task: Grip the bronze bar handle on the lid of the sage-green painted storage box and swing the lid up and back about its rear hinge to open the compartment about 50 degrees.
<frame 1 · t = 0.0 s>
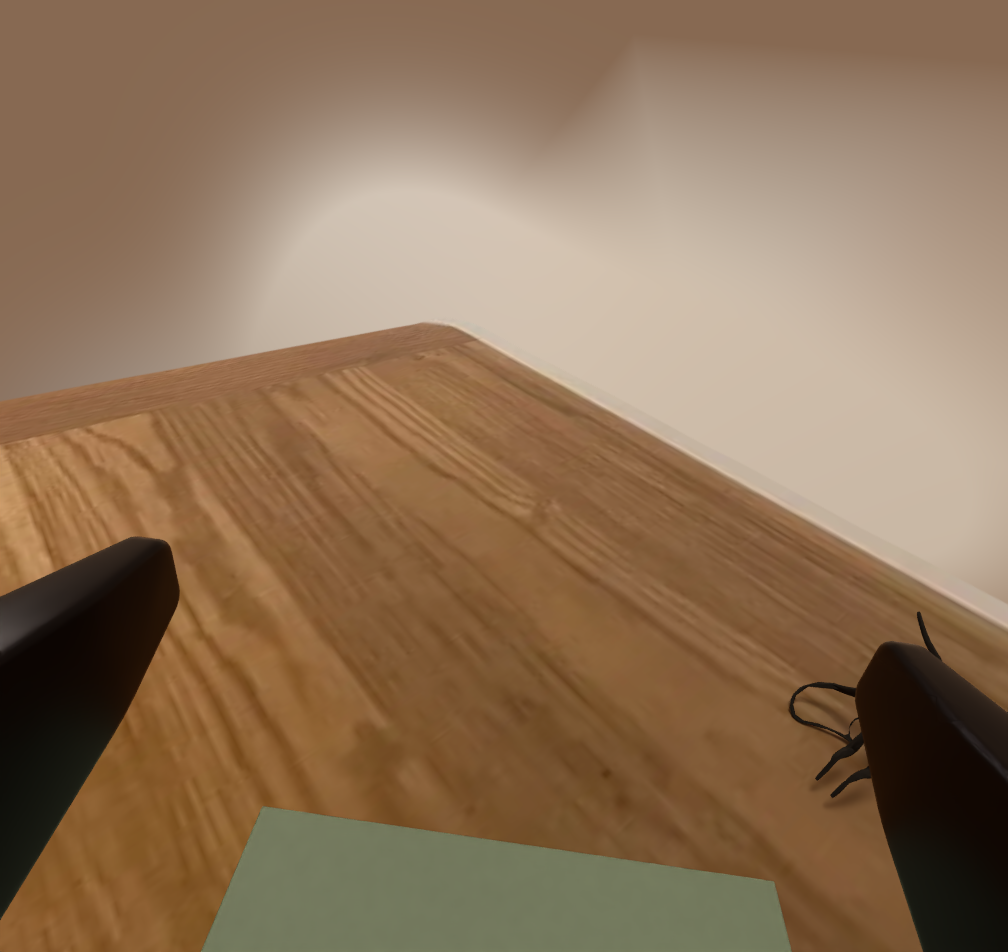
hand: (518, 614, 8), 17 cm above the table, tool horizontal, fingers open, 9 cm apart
creature: (880, 769, 27), on the table
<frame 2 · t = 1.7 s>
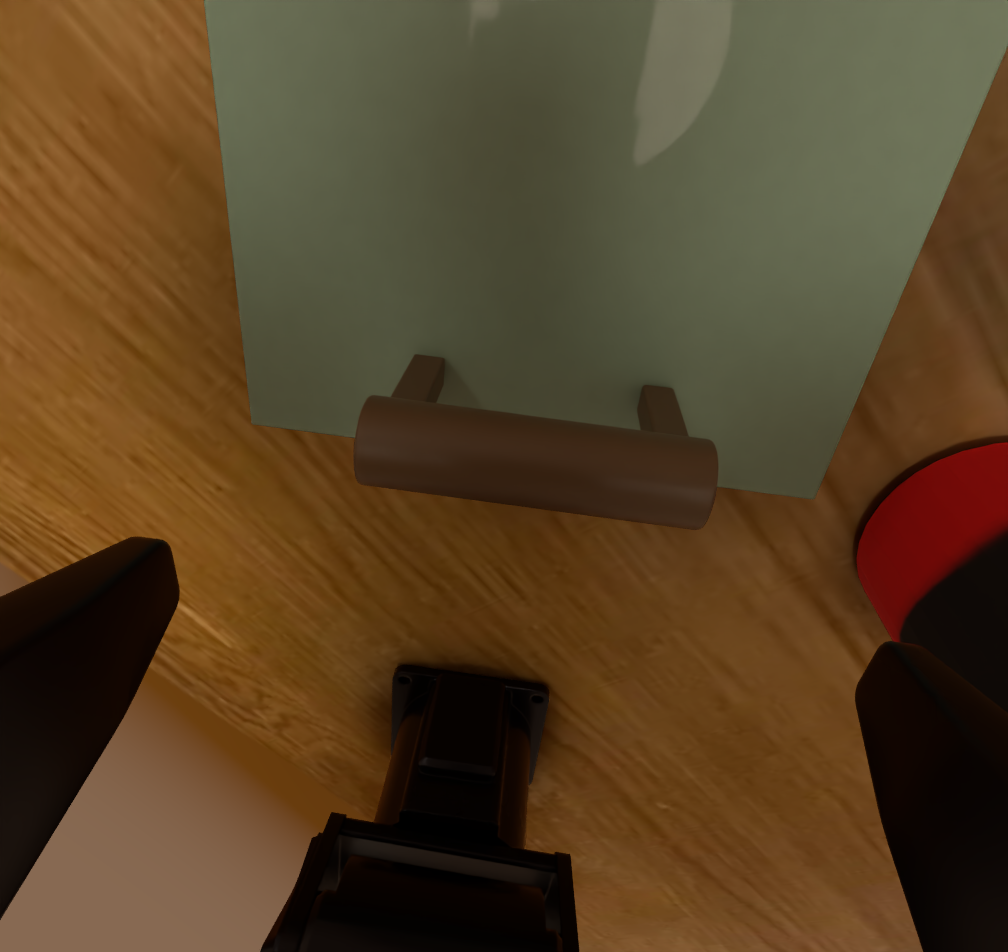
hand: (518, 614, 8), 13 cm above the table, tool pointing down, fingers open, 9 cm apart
soda can: (971, 532, 22), on the table
lid: (569, 204, 11), point 7 cm above the table, hinge at 0.0°
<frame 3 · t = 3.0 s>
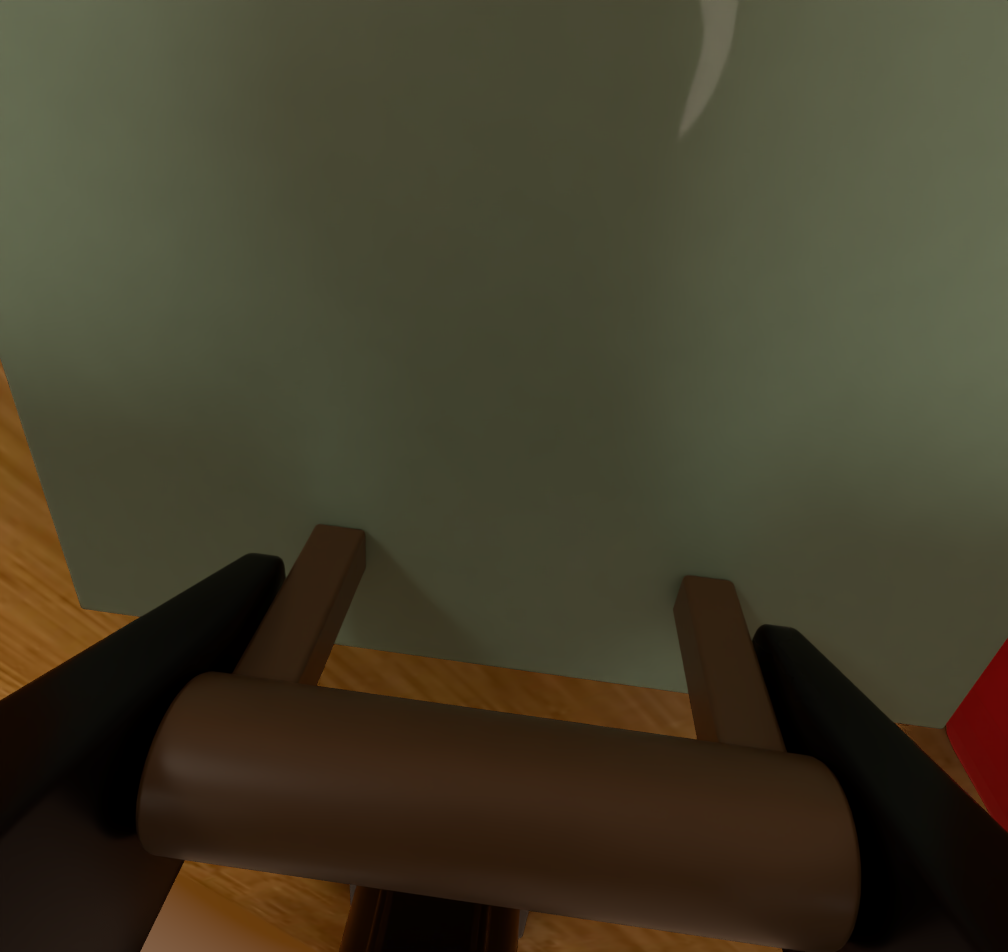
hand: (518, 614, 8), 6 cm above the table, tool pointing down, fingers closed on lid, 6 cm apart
lid: (562, 334, 5), point 7 cm above the table, hinge at 0.0°, touching gripper
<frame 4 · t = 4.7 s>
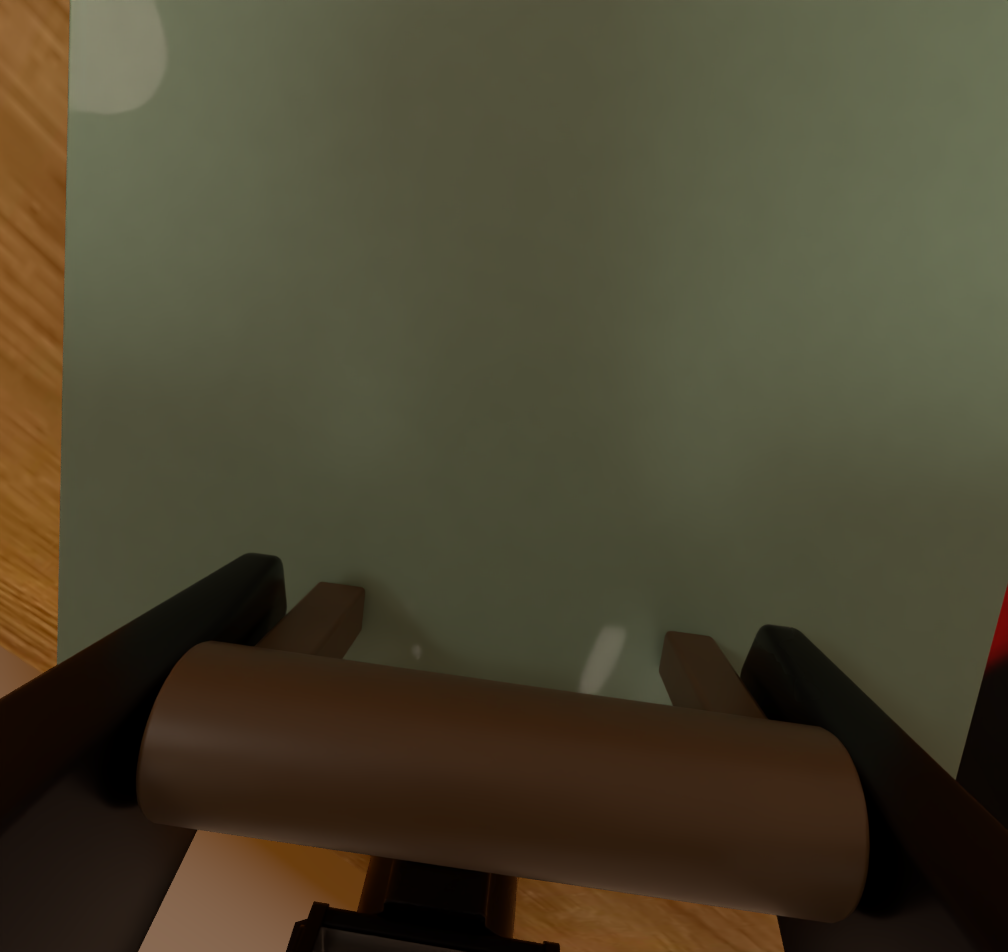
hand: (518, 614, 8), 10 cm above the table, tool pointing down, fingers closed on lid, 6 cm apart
soda can: (979, 617, 21), on the table
lid: (555, 343, 7), point 9 cm above the table, hinge at 24.1°, touching gripper
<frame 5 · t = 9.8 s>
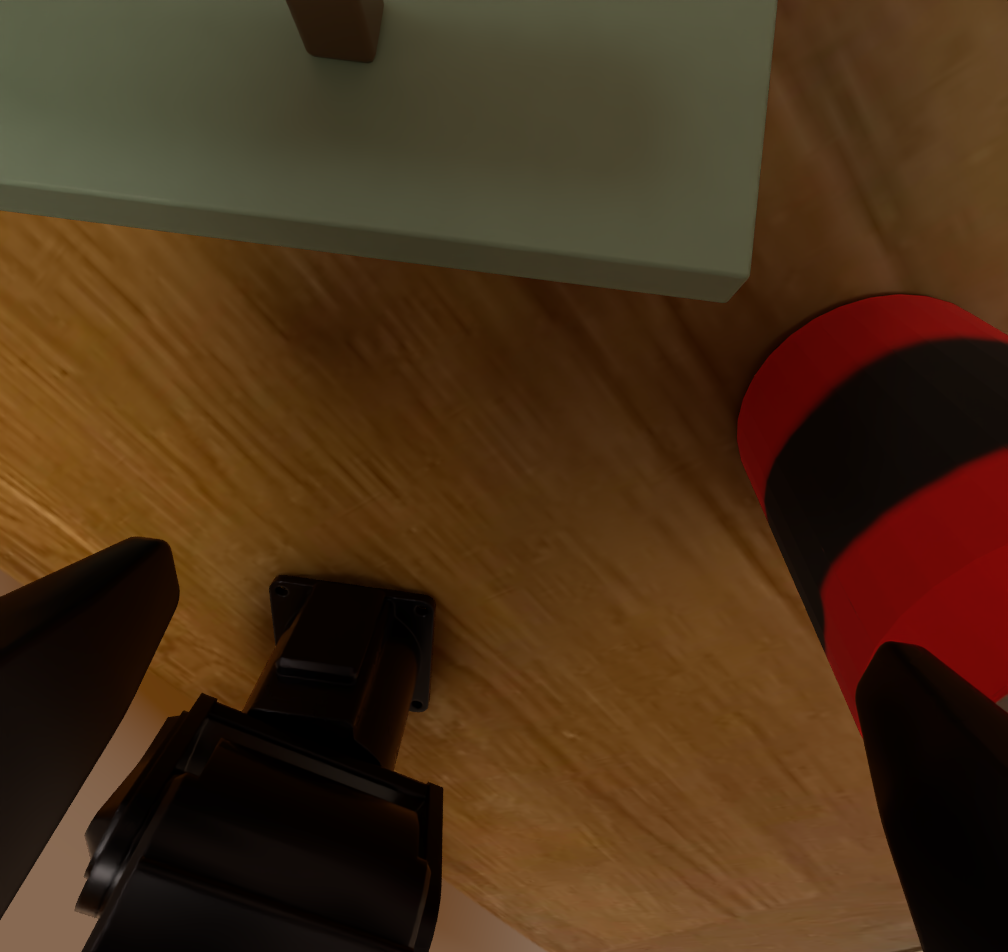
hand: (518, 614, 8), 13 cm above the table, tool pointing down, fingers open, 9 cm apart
soda can: (859, 409, 20), on the table
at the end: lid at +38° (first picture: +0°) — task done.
